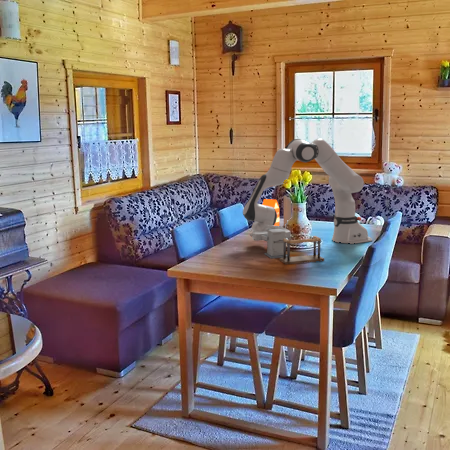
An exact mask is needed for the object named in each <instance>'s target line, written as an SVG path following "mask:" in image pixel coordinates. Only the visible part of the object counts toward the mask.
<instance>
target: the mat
mask: <svg viewBox="0 0 450 450" xmlns="http://www.w3.org/2000/svg"><path fill="white" fill-rule="evenodd" d="M263 254H264V255H265V256H267V257H268V258H270V259H280V258H284V255H279V256H271V255H269V254H268V253H267V252H264V253H263ZM286 257H287V253H286Z"/></svg>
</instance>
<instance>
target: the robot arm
mask: <svg viewBox="0 0 450 450" xmlns="http://www.w3.org/2000/svg"><path fill="white" fill-rule="evenodd" d="M313 160H315V162H316V163H317V164H318V165H319V167H320V168H321V169H322V170H323V172H324V173H325V174H327V175H328V176H329V177H328V184H329V186H330V188H331V190H332V194H333V198H334V215H333V217H334V218H333V219H334V220H333V226H334V228H333V235H332V238H331V241H332V240H333V241H332V242H334V241H335V243H339V242H341V243H340V244H348V243H350V245H354V243H355V244H361V243H368V242H372V241H373V238H372V237H370V236H369V233H368V229H367V228H366V227H365V226H364V225H362V224H360V223H359V222H361V221H362V217H360V216H356V201H355V199H354V197H353V195H352V194H354V193H359V192H361V191H362V189H363V188H364V184H365V182H364V178H363V177H362V176H361V175H360V174H358V173H357V172H355V170H353V169H352V167H350V166H349V165H348V164H346V163H345V162H344V161H343V159H341V157H340V156H339V155H338V153H337V152H336V151H335V149H334V148H333V147H332V146H331V145H330V144H329V143H328V142H327V141H326V140H325V139H323V138H316V139H314V140H313V141H312V142H309V141H307V140H304V139H301V138H295V139H292V140H291V141H290V142H289V143H288V144H287V145H286V146H285V147H284V148H280V149H278V150H277V151H276V152H275V154H274V155H273V158H272V161H271V164H270V167H269V169H268V170H267V172H266V173H264V174H262V175H261V176H260V177H259V180H258V181H257V183H256V184H255V186H254V188H253V190H252V192H251V195H250V196H249V199H248V200H247V201H246V203H245V205H244V207H243V209H242V214H243V217H244V218H245V219H246V221H250V222H253V223H252V226H251V230H252V232H251V233H249V236H250V237H251V238H252V240H253V241H257V242H258V241H264V242H267V240H269V237H268V236H267V230H271V229H282V230H284V231H285V238H286V239H290V238H291V235H292V233H291V230H289V229H287V227H286V228H285V227H284V225H279V226H274V225H275V223H276V220H277V212H276V210H275V208H274V207H270V206H266V205H263V204H260V203H258V202H259V200H260V198H261V196H262V195H263V192H264V190H266V189H267V188H270V187H278V186H281V185H284V183H283V182H284V180H286V179H287V180H288V179H289V177H290V173H291V170H292V167H293V165H294V163H296V162H297V161H299V162H301V163H309V162H311V161H313ZM358 221H359V222H358Z"/></svg>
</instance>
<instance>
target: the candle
mask: <svg viewBox="0 0 450 450" xmlns="http://www.w3.org/2000/svg"><path fill="white" fill-rule="evenodd" d="M290 199H291V198H290V197H289V196H287V195H283V227H285V224H286V223H287V220H289V219H290V217H291V200H290Z"/></svg>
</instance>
